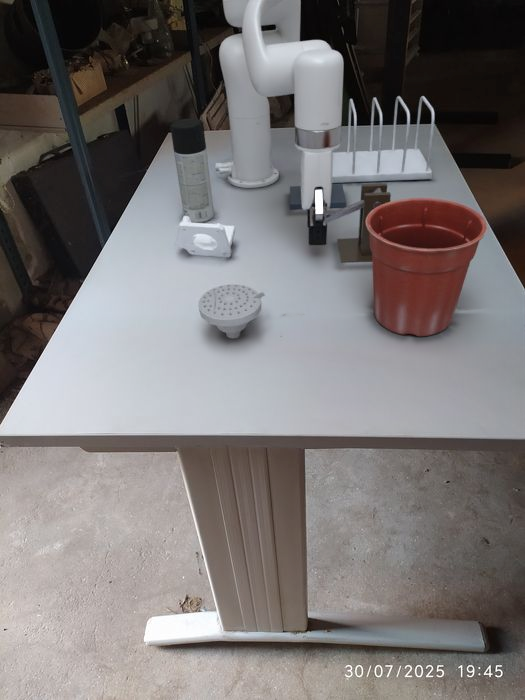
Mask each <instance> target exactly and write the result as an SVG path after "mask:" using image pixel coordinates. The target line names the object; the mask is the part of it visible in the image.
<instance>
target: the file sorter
mask: <svg viewBox="0 0 525 700" xmlns="http://www.w3.org/2000/svg"><path fill="white" fill-rule="evenodd" d="M394 103H395V104H394V112H393V113H394V114H393V115H394V116H393V127H392V140H391V142H392V143H391V149H382V137H383V112H382V109H381V106H380V104H379V102H378V99H377V97H373V98H372V101H371V115H370V116H371V117H370V134H369V150H357V129H358V127H357V124H358V123H357V122H358V121H357V120H358V119H357V112H356V111H357V110H356V108H355V103H354V100H353V98H350V99H349V102H348V120H347V121H348V122H347V124H348V125H347V147H346V148H347V151H337V152H335V151H333V174H332V184H342V183H343V184H344V183H361V182H362V183H363V182H367V183H368V182H387V181H389V182H390V181H413V180H417V181H418V180H431V179H432V175H433V171H432V169H431V168H430V162H431V153H432V145H433V136H434V129H435V128H434V127H435V110H434V107H433V106H432V104H431V103H430V102H429V100H428V99H427V98H426V97H425V96H424V95H422V96H421V97H420V98H419V102H418V109H417V119H416V129H415V139H414V148H408V142H409V133H410V124H411V113H410V110H409V108H408V106H407V104H406V103H405V102H404V100H403V98H402V97H401V96H400V95H398V96H397V97H395V102H394ZM399 103H400V106H402V108H403V110H404V111H405V113H406V130H405V138H404V146H403V148H400V149H399V148H398V149H395V146H396V145H395V144H396V130H397V118H398V106H399ZM423 103H424V104H425V105H426V106H427V108H428V109H429V111H430V114H431V122H430V123H431V124H430V131H429V140H428V148H427V157H426V159H425V156H424V155H423V154H422V151H421V150H420V148H418V141H419V131H420V121H421V113H422V104H423ZM375 107H376V110H377V112H378V115H379V130H378V145H377V146H378V147H377V150H373V139H374V138H373V137H374V121H375V120H374V119H375ZM352 113H353V139H352V140H353V142H352V143H353V144H352V151H350V149H351V145H350V144H351V125H352V124H351V123H352ZM356 150H357V151H356Z"/></svg>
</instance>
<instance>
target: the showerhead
mask: <svg viewBox="0 0 525 700" xmlns="http://www.w3.org/2000/svg"><path fill="white" fill-rule="evenodd" d="M265 296H266V294H265V293H264V292H263V291H261V292H258V291H257V290H256V289H254V288H253V287H251V286H248V285H243V284H224V285H220V286H216V287H212V288H211V289H209V290H208V291H206V292H205V293H203V294H202V295H201V297H199V300H198V305H197V307H198V311H199V315H200V317H201V318H202V320H204V321H205V322H207V323H209V324H211V325H214V326H216V328H217V329H218V330H219V331H221V332H223V333H226V337H227V338H228V339H237V338H240V336H241V331H243V330H244V329H246V327H247V326H248V324H249V322H251V321H252V320H254V319H255V318H256V317H258V315H259V314H260V313H261V311H262V298H263V297H265Z"/></svg>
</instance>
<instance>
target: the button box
mask: <svg viewBox="0 0 525 700" xmlns="http://www.w3.org/2000/svg"><path fill="white" fill-rule="evenodd" d="M323 207H324V204H323ZM345 207H347V200H346V195H345V190H344V186H343V184H342V183H338V184H332V191H331V203H330V207H329V208H328V209H342V208H345ZM289 210H290V211H294V210H295V211H296V210H304V209H303V208H302V203H301V185H293V186H292V185H291V186H289Z"/></svg>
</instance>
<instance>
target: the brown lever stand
mask: <svg viewBox="0 0 525 700" xmlns="http://www.w3.org/2000/svg"><path fill="white" fill-rule="evenodd" d="M360 187H361V188H360V201H361V200H364V204H363V208H362V209H359V220H358V221H359V222H358V235H357V237H350V238H349V237H348V238H337V239H336V241H337V242H336V243H337V249H338V254H339V259H340V260H339V261H340V263H341V264H345V263H373V262H372V251H371V249H370V235H369V231H368V230H367V227H366V217H367V216H368V214H369V213H370V212H371V211H372V210H373V209H375V208H376V207H378V206H380V205H382V204H385V203H388V202H391V197H392V194H391V192H390V191H388V184H387V183H385V182H383V183H380V182H379V183H361V186H360ZM377 188H380V189H381V193H368V192H370V191H373V190H375V189H377Z"/></svg>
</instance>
